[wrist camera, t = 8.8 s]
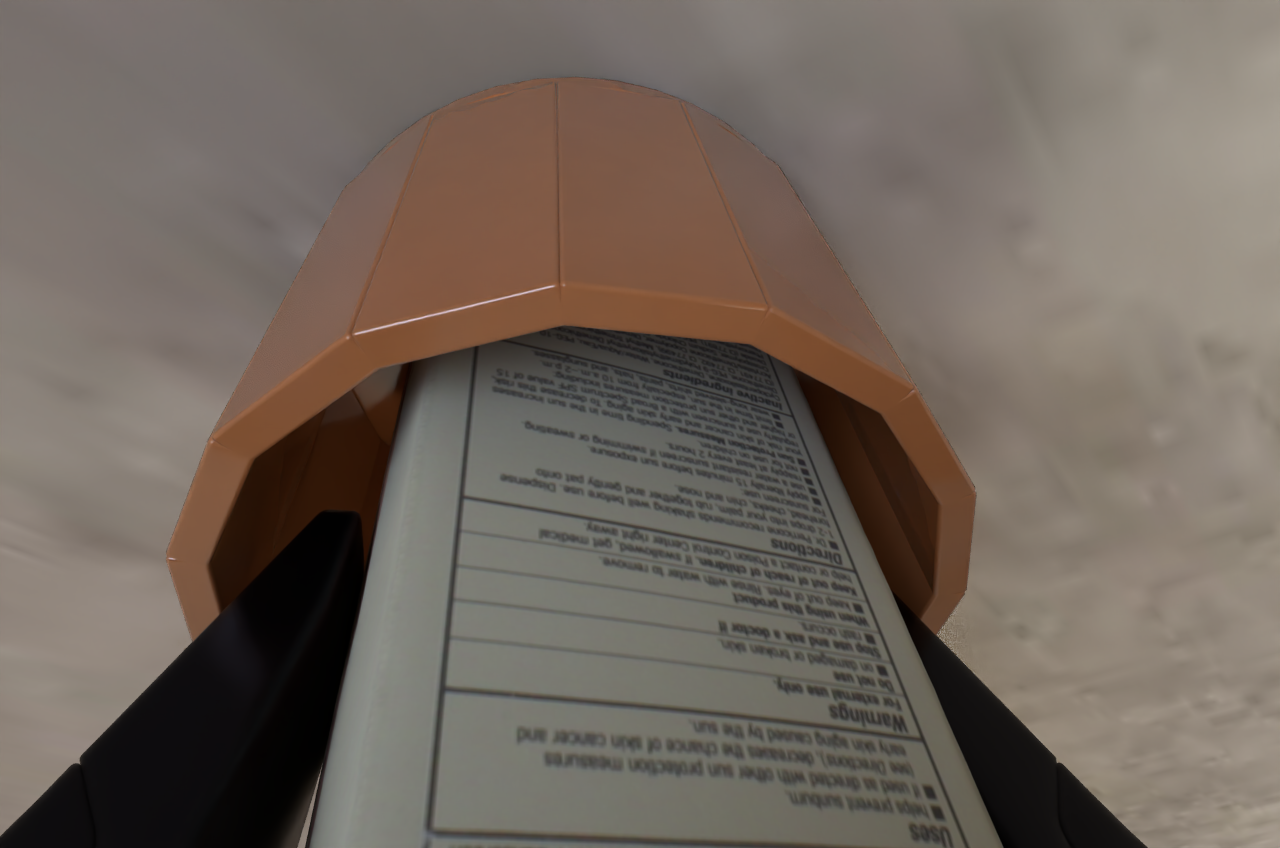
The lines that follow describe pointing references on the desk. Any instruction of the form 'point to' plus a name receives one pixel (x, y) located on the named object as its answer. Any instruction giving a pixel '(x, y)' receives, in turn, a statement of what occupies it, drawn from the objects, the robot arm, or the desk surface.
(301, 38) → the desk surface
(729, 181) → the copper cup
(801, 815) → the medicine box
